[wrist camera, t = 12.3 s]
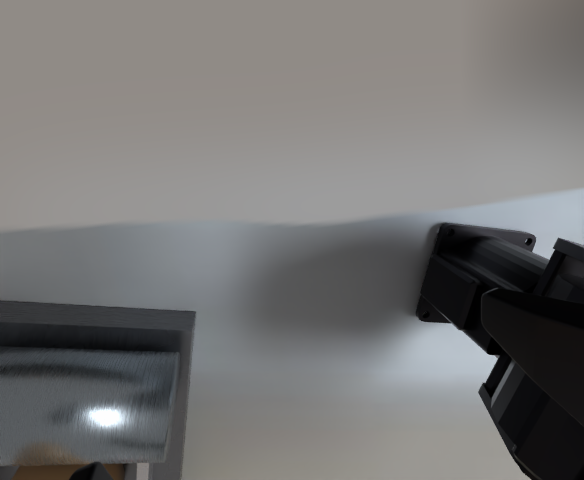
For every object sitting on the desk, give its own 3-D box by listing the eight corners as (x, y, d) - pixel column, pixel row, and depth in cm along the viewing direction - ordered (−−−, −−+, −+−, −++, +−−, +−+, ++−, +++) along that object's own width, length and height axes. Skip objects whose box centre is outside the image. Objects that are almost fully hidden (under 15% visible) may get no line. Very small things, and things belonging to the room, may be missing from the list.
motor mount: (195, 311, 21) (180, 395, 14) (179, 494, 25) (162, 622, 19) (-45, 298, 18) (-190, 391, 12) (-18, 503, 23) (-115, 653, 16)
